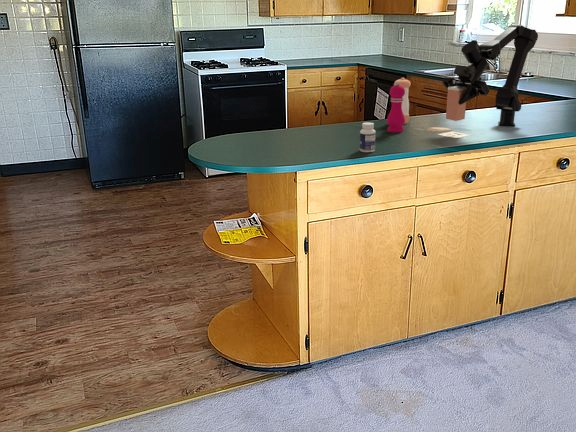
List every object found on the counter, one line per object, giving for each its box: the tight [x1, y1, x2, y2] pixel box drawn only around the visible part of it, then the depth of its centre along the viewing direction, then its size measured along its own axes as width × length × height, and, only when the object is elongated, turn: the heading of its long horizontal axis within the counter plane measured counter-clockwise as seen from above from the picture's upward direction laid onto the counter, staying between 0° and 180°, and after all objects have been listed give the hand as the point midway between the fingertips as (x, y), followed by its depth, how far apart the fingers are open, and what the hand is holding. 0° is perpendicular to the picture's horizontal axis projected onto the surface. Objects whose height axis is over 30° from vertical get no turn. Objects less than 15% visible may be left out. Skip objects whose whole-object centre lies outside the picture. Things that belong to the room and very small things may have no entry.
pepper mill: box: [386, 81, 405, 133], centre depth 236 cm, size 7×7×20 cm
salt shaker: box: [393, 77, 411, 125], centre depth 254 cm, size 7×7×19 cm
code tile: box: [437, 130, 469, 139], centre depth 230 cm, size 9×9×1 cm
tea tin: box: [445, 86, 467, 122], centre depth 226 cm, size 5×5×12 cm
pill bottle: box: [359, 121, 376, 153], centre depth 206 cm, size 5×5×10 cm
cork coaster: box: [426, 126, 453, 134], centre depth 239 cm, size 10×10×1 cm
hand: (454, 103), depth 225 cm, fingers closed on tea tin, 5 cm apart
